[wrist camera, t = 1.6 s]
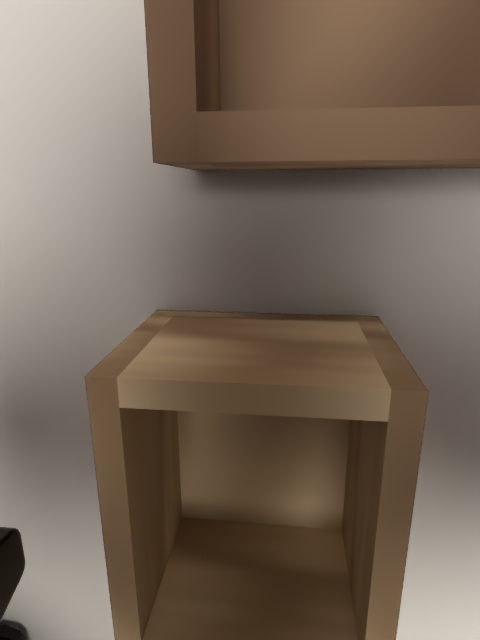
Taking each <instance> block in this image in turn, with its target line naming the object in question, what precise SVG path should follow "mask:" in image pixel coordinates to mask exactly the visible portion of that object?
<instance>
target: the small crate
mask: <svg viewBox="0 0 480 640" xmlns="http://www.w3.org/2000/svg"><path fill="white" fill-rule="evenodd" d="M85 382H86V391H87V400H88V409H89V418H90V426H91V435H92V444H93V453H94V461H95V470H96V479H97V488H98V496H99V505H100V514H101V523H102V532H103V540H104V549H105V558H106V567H107V575H108V584H109V593H110V602H111V610H112V619H113V628H114V637H115V640H396V634H397V626H398V619H399V611H400V603H401V596H402V588H403V581H404V573H405V566H406V558H407V551H408V543H409V535H410V528H411V520H412V513H413V505H414V498H415V490H416V483H417V475H418V468H419V460H420V452H421V445H422V437H423V430H424V422H425V415H426V407H427V400H428V390H427V389H426V387H425V386H424V384H423V383H422V381H421V380H420V378H419V377H418V375H417V374H416V372H415V371H414V369H413V368H412V366H411V365H410V363H409V362H408V360H407V359H406V357H405V356H404V355H403V353H402V352H401V350H400V349H399V347H398V346H397V344H396V343H395V341H394V340H393V338H392V337H391V335H390V334H389V332H388V331H387V329H386V328H385V326H384V325H383V323H382V322H381V321H380V319H379V318H378V316H344V315H307V314H270V313H233V312H196V311H160V310H157V311H156V312H155V313H154V314H152V315H151V316H150V317H149V318H148V319H147V320H146V321H145V322H144V323H143V324H141V325H140V326H139V327H138V328H137V329H136V330H135V331H134V332H133V333H132V334H131V335H129V336H128V337H127V338H126V339H125V340H124V341H123V342H122V343H121V344H120V345H119V346H117V347H116V348H115V349H114V350H113V351H112V352H111V353H110V354H109V355H108V356H106V357H105V358H104V359H103V360H102V361H101V362H100V363H99V364H98V365H97V366H96V367H94V368H93V369H92V370H91V371H90V372H89V373H88V374H87V375H86V376H85Z"/></svg>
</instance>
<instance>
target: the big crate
mask: <svg viewBox="0 0 480 640" xmlns="http://www.w3.org/2000/svg"><path fill="white" fill-rule="evenodd" d="M144 8H145V26H146V44H147V61H148V79H149V97H150V114H151V132H152V150H153V162H154V163H159V164H165V165H170V166H175V167H181V168H186V169H192V170H270V169H399V168H480V0H144Z"/></svg>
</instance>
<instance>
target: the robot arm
mask: <svg viewBox="0 0 480 640" xmlns="http://www.w3.org/2000/svg"><path fill="white" fill-rule="evenodd" d="M24 568H25V557H24V551H23V545H22V540H21V534H20V532H19V530H18V529H16V528H6V527H0V621H1V619H2V617H3V615H4V613H5V611H6V609H7V606H8V604H9V602H10V600H11V598H12V596H13V594H14V592H15V589H16V587H17V585H18V583H19V581H20V579H21V577H22V574H23V571H24ZM0 640H25V638H24V635H23V634H22V632H21V631H20V630H18V629H16V628H14V627H10V626H2V625H0Z"/></svg>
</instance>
